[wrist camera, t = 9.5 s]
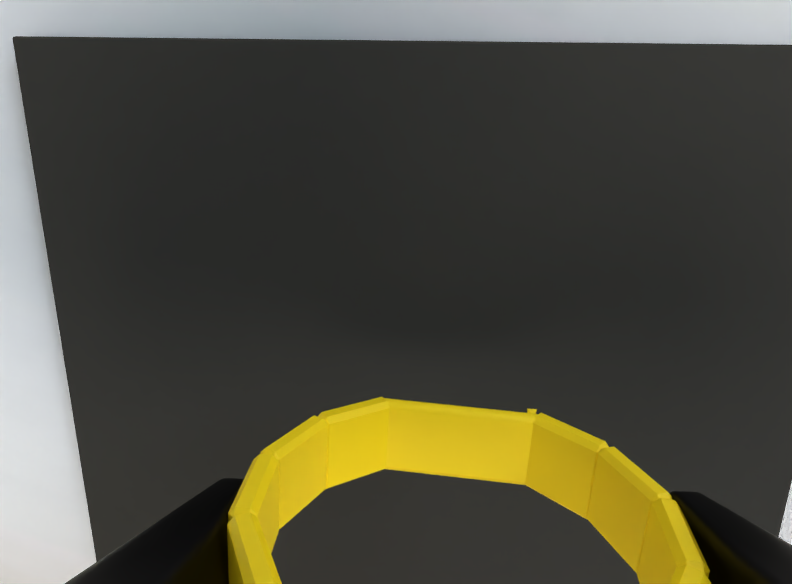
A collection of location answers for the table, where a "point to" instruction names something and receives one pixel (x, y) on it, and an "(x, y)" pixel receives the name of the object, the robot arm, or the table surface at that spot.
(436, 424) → the watch
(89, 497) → the mat
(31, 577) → the table surface
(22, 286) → the table surface
